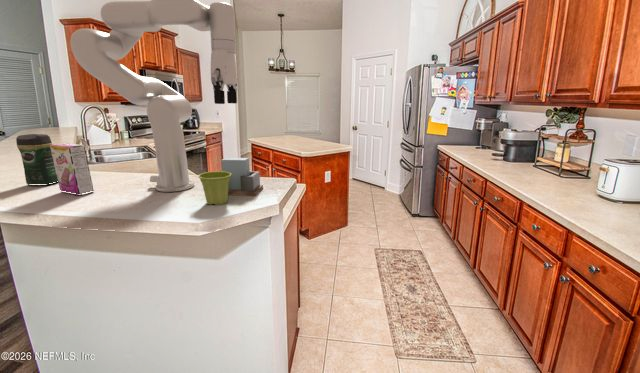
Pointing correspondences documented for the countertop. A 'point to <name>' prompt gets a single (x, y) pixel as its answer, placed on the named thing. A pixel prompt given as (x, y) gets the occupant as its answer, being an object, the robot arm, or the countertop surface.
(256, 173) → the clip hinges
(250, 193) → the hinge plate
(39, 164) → the coffee jar
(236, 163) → the door panel
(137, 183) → the countertop surface
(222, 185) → the plant pot
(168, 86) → the robot arm
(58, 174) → the candy bar box
